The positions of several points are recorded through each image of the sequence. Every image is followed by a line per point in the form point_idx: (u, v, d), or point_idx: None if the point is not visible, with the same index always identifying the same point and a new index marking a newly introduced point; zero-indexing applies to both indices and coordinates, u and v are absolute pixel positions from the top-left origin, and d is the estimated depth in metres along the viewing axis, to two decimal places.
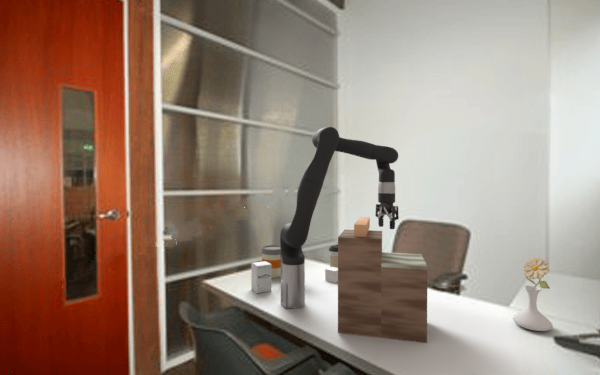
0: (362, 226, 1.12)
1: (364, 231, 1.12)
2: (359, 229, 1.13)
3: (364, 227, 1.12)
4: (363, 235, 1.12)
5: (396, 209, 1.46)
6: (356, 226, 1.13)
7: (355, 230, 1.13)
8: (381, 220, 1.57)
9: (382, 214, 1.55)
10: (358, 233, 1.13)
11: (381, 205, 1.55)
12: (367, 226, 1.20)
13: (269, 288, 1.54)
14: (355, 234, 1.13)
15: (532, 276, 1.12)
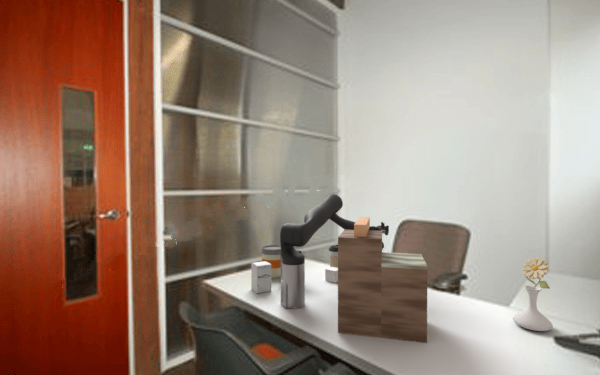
0: (362, 226, 1.12)
1: (364, 231, 1.12)
2: (359, 229, 1.13)
3: (364, 227, 1.12)
4: (363, 235, 1.12)
5: None
6: (356, 226, 1.13)
7: (355, 230, 1.13)
8: None
9: None
10: (358, 233, 1.13)
11: None
12: (367, 226, 1.20)
13: (269, 288, 1.54)
14: (355, 234, 1.13)
15: (532, 276, 1.12)
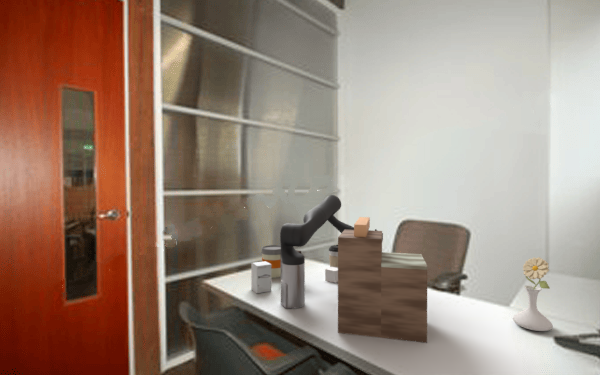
0: (362, 226, 1.12)
1: (364, 231, 1.12)
2: (359, 229, 1.13)
3: (364, 227, 1.12)
4: (363, 235, 1.12)
5: None
6: (356, 226, 1.13)
7: (355, 230, 1.13)
8: None
9: None
10: (358, 233, 1.13)
11: None
12: (367, 226, 1.20)
13: (269, 288, 1.54)
14: (355, 234, 1.13)
15: (532, 276, 1.12)
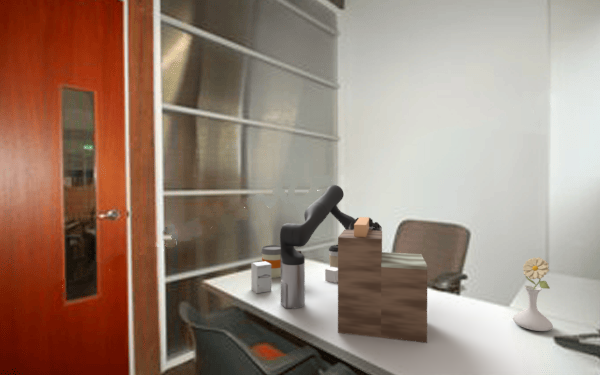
0: (362, 226, 1.12)
1: (364, 231, 1.12)
2: (359, 229, 1.13)
3: (364, 227, 1.12)
4: (363, 235, 1.12)
5: (380, 229, 1.36)
6: (356, 226, 1.13)
7: (355, 230, 1.13)
8: None
9: None
10: (358, 233, 1.13)
11: None
12: (367, 226, 1.20)
13: (269, 288, 1.54)
14: (355, 234, 1.13)
15: (532, 276, 1.12)
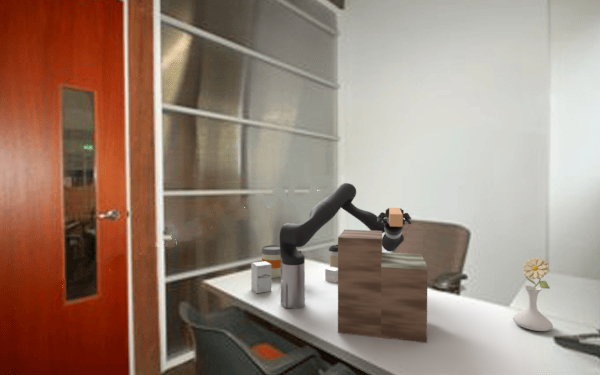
0: (398, 215, 1.09)
1: (400, 221, 1.09)
2: (395, 218, 1.10)
3: (400, 216, 1.09)
4: (399, 225, 1.09)
5: (410, 220, 1.33)
6: (392, 216, 1.10)
7: (391, 220, 1.10)
8: None
9: None
10: (394, 223, 1.10)
11: None
12: None
13: (269, 288, 1.54)
14: (391, 224, 1.10)
15: (532, 276, 1.12)
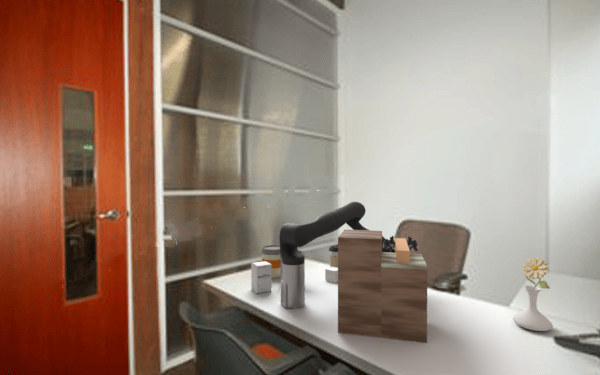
0: (405, 252, 1.09)
1: (407, 257, 1.09)
2: (402, 255, 1.09)
3: (407, 253, 1.09)
4: (406, 261, 1.09)
5: (417, 247, 1.33)
6: (399, 252, 1.10)
7: (398, 256, 1.10)
8: None
9: (394, 243, 1.33)
10: (401, 259, 1.09)
11: None
12: None
13: (269, 288, 1.54)
14: (398, 260, 1.10)
15: (532, 276, 1.12)
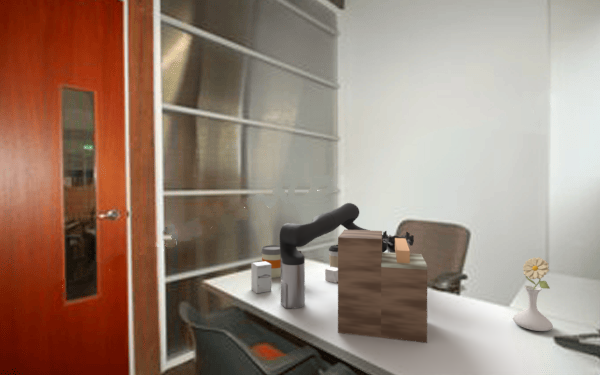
0: (405, 252, 1.09)
1: (407, 257, 1.09)
2: (402, 255, 1.09)
3: (407, 253, 1.09)
4: (406, 261, 1.09)
5: (412, 242, 1.44)
6: (399, 252, 1.10)
7: (398, 256, 1.10)
8: None
9: (389, 237, 1.44)
10: (401, 259, 1.09)
11: None
12: None
13: (269, 288, 1.54)
14: (398, 260, 1.10)
15: (532, 276, 1.12)
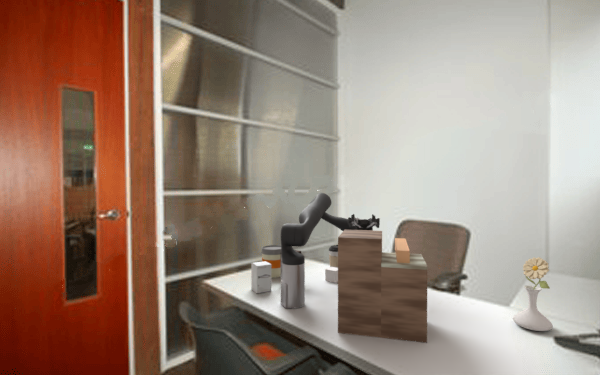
0: (405, 252, 1.09)
1: (407, 257, 1.09)
2: (402, 255, 1.09)
3: (407, 253, 1.09)
4: (406, 261, 1.09)
5: None
6: (399, 252, 1.10)
7: (398, 256, 1.10)
8: (354, 218, 1.53)
9: (357, 220, 1.55)
10: (401, 259, 1.09)
11: None
12: None
13: (269, 288, 1.54)
14: (398, 260, 1.10)
15: (532, 276, 1.12)
